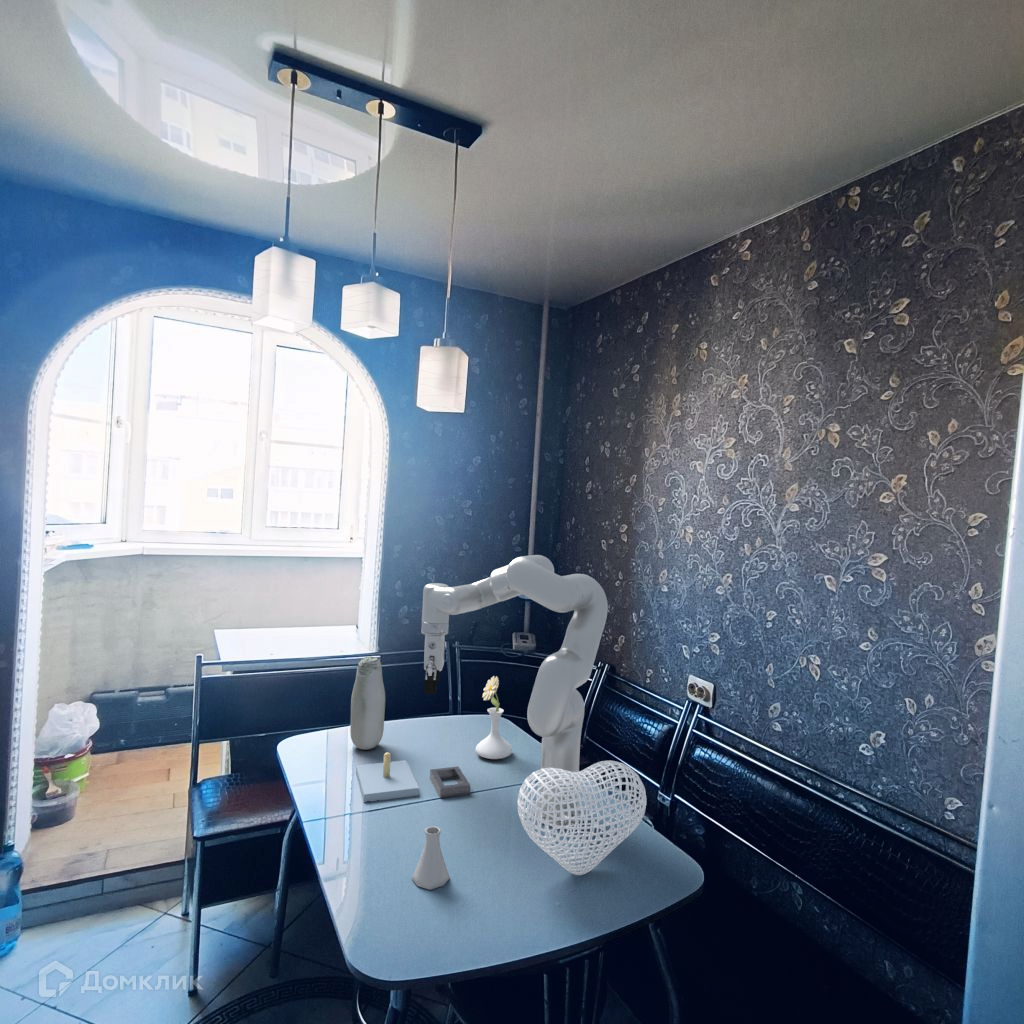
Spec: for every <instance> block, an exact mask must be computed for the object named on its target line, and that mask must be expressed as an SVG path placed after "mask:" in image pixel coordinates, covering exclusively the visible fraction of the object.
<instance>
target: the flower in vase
mask: <svg viewBox="0 0 1024 1024" xmlns="http://www.w3.org/2000/svg"><path fill="white" fill-rule="evenodd" d="M499 684H500V680H499V677H498V676H497V675H496V676H495V675H493V676H492V677H490V679H488V680H487V682H486V684H485V687H484V688H483V693H482V697H481V698H483V701H490V702H491V704H492V705H493V706H494V707H490V708H487V709H486V710H487V713H488V714H489V716H490V722H491V723H490V724H491V727H490V733H489V734H488V736H486V737H485V738H483V739H482V740H480V742H478V743H477V745H476V747H475V752H476V754H477V755H478V756H480V757H482V758H485V759H490V760H500V759H501V760H502V759H505V758H507V757H509V756H511V755H512V753H513V747H512V745H511V744H510V743H509V741H507V740H506V739H505V738H504V737H502V736H501V735H500V732H499V731H500V730H499V726H500V719H501V716H502V714H503V713H504V711H505V710H504V709H503V708H501V707H500V704H501V703H500V702H499V697H498V694H497V691H498V688H499ZM494 695H495V696H494ZM495 697H496V698H495Z"/></svg>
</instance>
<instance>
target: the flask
mask: <svg viewBox="0 0 1024 1024" xmlns="http://www.w3.org/2000/svg"><path fill="white" fill-rule="evenodd" d="M441 833H442V829H440V827H439V826H435V825H432V826H427V827H426V828H425V829H424V834H425V841H424V846H423V849H422V852H421V855H420V857H419V860H418V863H417V864H416V867H415V869H414V871H413V873H412V876H411V880H412V881H413V882H414V883H415V885H416V887H419V888H424V889H426V890H430V891H431V890H434V889H437V888H439V887H444V885H446V883H447V882H448V880H449V879H451V876H450V874H449V871H448V868H447V865H446V863H445V858H444V855H443V852H442V848H441V843H440V838H441V837H440V836H441V835H440V834H441Z"/></svg>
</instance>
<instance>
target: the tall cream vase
mask: <svg viewBox="0 0 1024 1024" xmlns="http://www.w3.org/2000/svg"><path fill="white" fill-rule="evenodd" d="M382 669H383V667H382V663H381V661H380V659H378V658H377V657H375V656H365V657H363V658H362V659H360V661H359V662H358V663H357V668H356V674H355V681H354V684H353V688H352V691H351V692H352V693H351V696H350V697H351V699H350V725H349V726H350V729H349V731H350V739H351V741H352V743H353V745H354V746H355V747H356V748H357V749H359V750H363V751H366V750H371V749H373V748H375V747H377V746H378V745H379V744H380V742H381V741H382V739H383V736H384V730H385V729H384V728H385V709H386V690H385V685H384V681H383V670H382Z"/></svg>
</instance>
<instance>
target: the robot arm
mask: <svg viewBox="0 0 1024 1024" xmlns="http://www.w3.org/2000/svg"><path fill="white" fill-rule="evenodd" d="M422 592H423V593H422V610H421V611H422V612H421V630H420V631H421V634H422V635H424V655H423V657H424V659H423V669H424V671H425V677H424V684H423V685H424V690H423V692H424V694H425V695H436V694H437V684H439V683H440V674H441V671H443V668H444V665H445V640H446V639H445V638H446V637H445V636H446V635H448V634H449V622H450V621H449V619H450V615H451V616H456V615H460V614H464V613H470V612H474V611H478V610H481V609H483V608H486V607H489V606H491V605H494V604H498V603H500V602H505V601H507V600H510V599H512V598H516V597H520V596H521V595H523V596H525V597H527V598H528V599H530V600H532V601H534V602H535V603H537V604H539V605H541V606H543V607H544V608H546V609H548V610H551V611H553V612H556V613H561V614H562V613H569V612H571V611H573V615H572V617H571V619H570V621H569V623H568V625H567V628H566V631H565V636H564V639H563V642H562V644H561V646H560V649H559V650H558V651H556V652H553V653H552V654H550V655H548V656H547V657H545V659H544V660H543V661H542V662H541V665H540V666H539V668H538V670H537V671H538V672H537V675H536V677H535V681H534V684H533V687H532V691H531V694H530V698H529V702H528V704H527V705H528V706H527V711H526V712H527V713H526V715H527V716H526V717H527V723H528V725H529V727H530V729H531V731H532V732H533V733H534V734H535V735H537V736H538V737H542V738H541V747H540V749H541V751H540V769H542V768H558V769H563V770H567V771H571V772H579V771H580V754H581V753H580V752H581V751H580V750H581V740H582V739H581V738H582V737H581V736H582V730H583V729H582V728H583V723H584V717H585V702H584V699H583V696H582V694H581V693H580V692H579V691H578V690H577V688H579V687H581V686H583V684H585V683H587V681H588V680H589V679H590V678H591V674H592V671H593V667H594V663H595V660H596V657H597V653H598V650H599V646H600V642H601V639H602V635H603V632H604V630H605V625H606V621H607V618H608V617H607V616H608V608H609V607H608V606H609V605H608V604H609V603H608V599H607V596H606V595H607V594H606V593H605V590H604V589H603V587H602V586H601V585H600V583H599V582H598V581H597V580H596V579H595V578H593V577H591V576H589V574H584V573H572V574H567V575H559V574H557V573H555V567H554V564H553V563H552V561H551V560H550V559H549V558H548V557H546V556H544V555H541V554H533V555H532V554H531V555H523V556H518V557H516V558H514V559H512V561H511V562H509V564H507V565H504V566H501V567H498V568H495V569H494V570H492V571H491V573H490V576H489V577H487V578H485V579H481V580H478V581H476V582H473V583H469V584H464V585H463V584H462V585H458V586H457V585H456V586H449V585H448V584H445V583H439V582H438V583H437V582H431V583H428V584H425V585H424V587H423V591H422ZM549 772H552V771H549ZM559 774H561V773H559ZM549 775H551V774H549ZM546 776H547V775H544V776H542V777H546ZM574 776H575V775H574ZM577 777H578V776H577ZM552 778H553V777H552ZM558 778H559V776H555V777H554V779H558ZM562 778H563V777H562ZM572 779H574V778H572ZM548 781H551V780H548V779H547V782H548ZM561 781H562V780H561ZM566 781H569V780H566ZM543 782H544V783H545V780H544V781H543ZM573 783H574V782H573ZM540 784H541V783H540ZM559 784H562V783H560V782H559ZM575 784H577V782H575ZM547 785H551V783H549V784H547ZM554 785H555V784H554V782H553V784H552V786H554ZM572 786H573V785H570V787H572ZM540 787H541V786H540ZM560 787H562V786H560ZM564 787H566V785H564ZM549 788H550V787H549ZM576 789H577V790H578V786H577V787H576ZM543 790H544V787H543V788H541V789H540V790H539V792H543ZM546 790H547V789H546V788H545V791H546ZM564 790H568V789H564ZM564 790H563V791H564ZM570 790H573V788H572V789H570ZM551 791H552V792H553V793H554V794H555V791H556V788H553V789H551ZM558 792H560V790H559V789H557V793H558ZM546 793H549V791H548V792H546ZM572 793H573V792H572ZM564 794H565V795H567V792H565V793H564ZM569 794H570V792H569ZM540 795H541V794H540ZM558 795H561V794H558ZM548 797H549V795H545V794H544V798H545V799H546V800H547V799H548ZM550 797H551V795H550ZM556 797H557V798H558V800H559V801H561V797H559V796H556ZM575 798H578V796H577V794H576V795H575ZM569 799H572V797H571V796H569ZM562 800H565V798H564V797H562ZM539 801H542V798H540V800H539ZM549 802H554V797H553V798H551V799H550V801H549ZM557 802H558V801H557V800H556V803H557ZM565 802H566V801H565ZM569 802H570V801H569ZM562 803H563V802H562ZM543 804H544V803H543ZM551 805H552V806H553V805H554V804H551ZM569 805H570V808H574V803H570V804H569ZM547 806H548V804H545V806H544V808H543V810H544V811H547ZM576 806H577V808H579V807H580V804H578V802H576ZM538 807H539V808H541V807H542V803H538ZM562 807H563V809H567V804H562ZM533 808H534V806H533ZM550 808H551V806H550V805H549V810H550ZM535 809H536V808H535ZM555 809H556V810H557V811H558V810H560V805H559V804H557V805H556V806H555ZM553 810H554V809H553V808H552V810H551V811H553ZM532 812H533V810H532ZM535 812H536V811H534V815H533V816H535ZM549 814H551V815H553V813H549ZM538 815H539V812H537V818H538ZM555 815H556V813H555ZM580 815H581V810H577V816H580ZM546 816H547V815H546V814H544V813H543V815H542V819H543V820H546ZM574 816H575V810H574V811H571V817H574ZM557 817H560V818H561V815H560V812H558V813H557ZM540 818H541V815H540ZM564 818H568V812H564ZM578 818H581V817H578ZM548 820H553V818H552V817H550V816H549V819H548ZM578 822H579V823H580V822H581V820H578ZM548 823H550V824H553V823H554V821H552V822H548ZM572 824H575V820H571V825H572ZM556 825H558V826H561V820H559V821H556ZM566 825H569V820H564V822H563V826H566Z"/></svg>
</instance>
